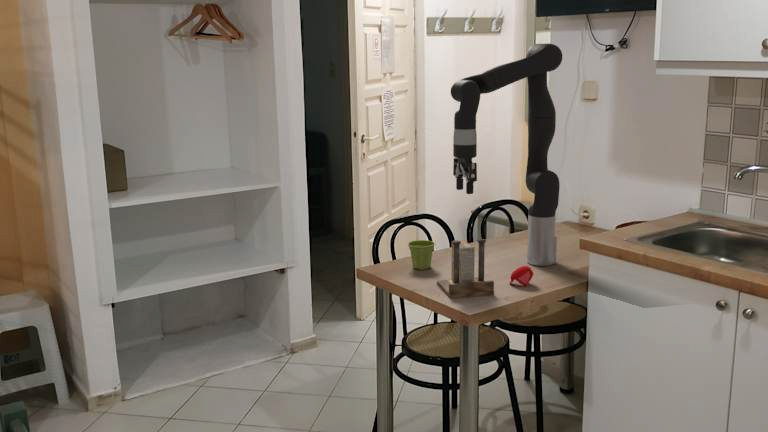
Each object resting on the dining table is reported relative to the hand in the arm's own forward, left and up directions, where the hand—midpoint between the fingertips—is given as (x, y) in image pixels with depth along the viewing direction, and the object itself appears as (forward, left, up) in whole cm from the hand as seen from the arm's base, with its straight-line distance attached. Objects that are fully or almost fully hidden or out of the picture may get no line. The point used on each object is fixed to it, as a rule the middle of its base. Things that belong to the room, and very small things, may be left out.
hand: (464, 191), depth 248 cm
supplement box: (+5, +15, -27) cm, 31 cm away
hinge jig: (+5, +16, -28) cm, 33 cm away
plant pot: (+12, -11, -28) cm, 33 cm away
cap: (-14, +16, -28) cm, 36 cm away
